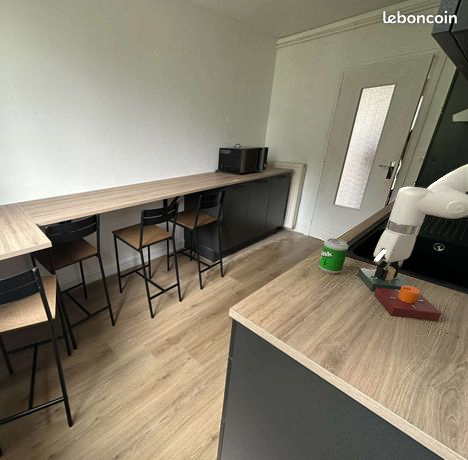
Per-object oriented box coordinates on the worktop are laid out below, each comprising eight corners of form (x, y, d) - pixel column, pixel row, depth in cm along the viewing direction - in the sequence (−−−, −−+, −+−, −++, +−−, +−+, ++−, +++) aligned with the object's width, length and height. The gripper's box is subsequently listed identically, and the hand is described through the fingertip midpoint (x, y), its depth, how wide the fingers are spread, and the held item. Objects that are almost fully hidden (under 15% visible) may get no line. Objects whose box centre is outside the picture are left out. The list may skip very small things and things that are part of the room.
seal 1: (385, 273, 87) (389, 263, 86) (395, 280, 84) (399, 270, 82) (374, 274, 87) (377, 264, 86) (383, 280, 84) (387, 270, 82)
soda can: (339, 266, 98) (347, 239, 93) (342, 276, 92) (351, 247, 87) (317, 263, 101) (323, 236, 96) (319, 272, 95) (326, 244, 90)
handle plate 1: (392, 278, 90) (395, 270, 88) (410, 295, 81) (413, 287, 80) (357, 275, 92) (359, 267, 91) (370, 291, 83) (373, 283, 82)
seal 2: (410, 295, 76) (414, 285, 75) (419, 304, 72) (424, 293, 71) (394, 294, 77) (398, 283, 76) (402, 302, 73) (407, 291, 72)
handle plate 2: (414, 299, 79) (418, 291, 78) (437, 321, 70) (441, 312, 69) (373, 294, 82) (376, 286, 80) (390, 316, 73) (394, 307, 72)
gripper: (409, 220, 84) (391, 267, 91) (370, 226, 80) (355, 275, 87) (436, 228, 77) (415, 278, 84) (395, 235, 73) (377, 287, 80)
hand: (385, 276), depth 85 cm, fingers closed on seal 1, 4 cm apart
